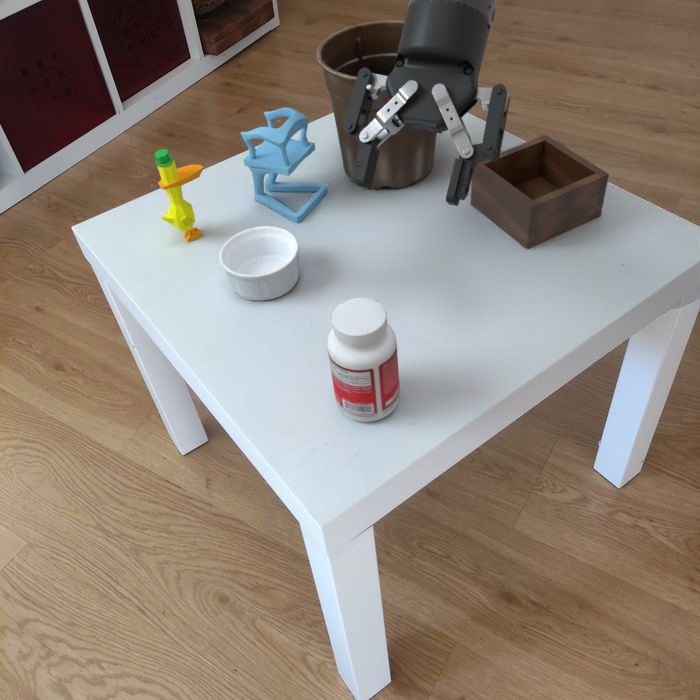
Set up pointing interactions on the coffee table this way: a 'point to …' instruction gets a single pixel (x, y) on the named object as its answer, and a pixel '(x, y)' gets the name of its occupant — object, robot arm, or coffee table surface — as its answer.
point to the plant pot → (340, 76)
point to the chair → (281, 161)
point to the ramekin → (261, 262)
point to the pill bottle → (363, 360)
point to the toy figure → (178, 193)
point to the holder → (538, 190)
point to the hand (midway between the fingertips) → (406, 195)
